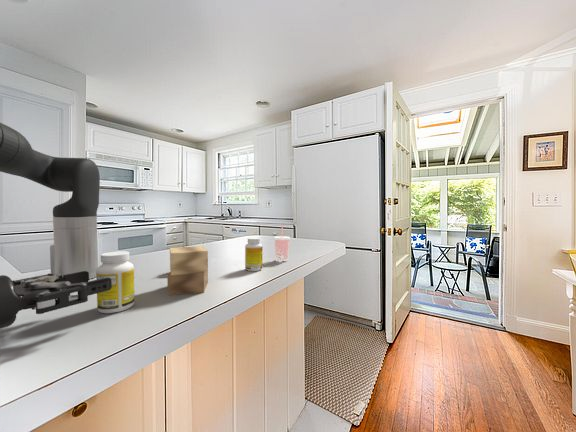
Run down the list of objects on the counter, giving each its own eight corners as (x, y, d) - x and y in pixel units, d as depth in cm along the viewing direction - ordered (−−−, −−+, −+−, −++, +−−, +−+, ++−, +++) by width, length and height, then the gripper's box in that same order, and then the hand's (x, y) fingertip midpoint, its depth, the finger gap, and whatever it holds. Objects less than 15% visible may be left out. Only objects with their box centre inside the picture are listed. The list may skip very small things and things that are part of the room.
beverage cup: (285, 263, 89) (285, 224, 89) (270, 261, 92) (271, 223, 91) (292, 260, 95) (293, 223, 94) (278, 258, 98) (278, 222, 97)
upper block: (171, 275, 56) (170, 253, 56) (170, 267, 63) (169, 247, 63) (207, 271, 60) (207, 250, 59) (203, 264, 67) (202, 245, 67)
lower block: (167, 295, 57) (167, 274, 57) (176, 284, 65) (175, 265, 65) (204, 293, 59) (203, 272, 59) (207, 283, 67) (207, 264, 66)
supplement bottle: (264, 271, 79) (264, 238, 78) (246, 272, 77) (246, 239, 76) (260, 266, 84) (260, 236, 83) (243, 268, 82) (243, 237, 82)
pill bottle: (130, 299, 54) (129, 249, 54) (138, 307, 50) (137, 253, 49) (94, 307, 50) (93, 253, 49) (100, 317, 45) (99, 257, 45)
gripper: (-30, 292, 29) (118, 264, 43) (-55, 275, 36) (80, 255, 50) (-27, 354, 30) (119, 306, 44) (-52, 325, 36) (81, 292, 51)
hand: (98, 279), depth 47 cm, fingers open, 8 cm apart
